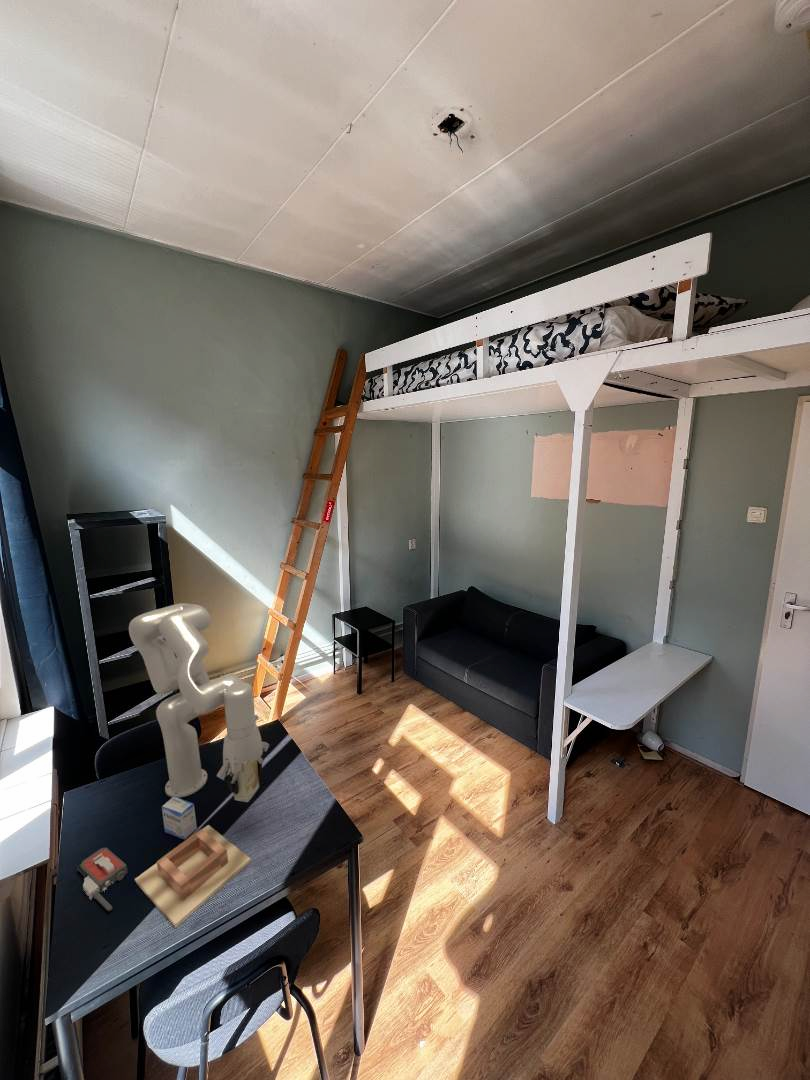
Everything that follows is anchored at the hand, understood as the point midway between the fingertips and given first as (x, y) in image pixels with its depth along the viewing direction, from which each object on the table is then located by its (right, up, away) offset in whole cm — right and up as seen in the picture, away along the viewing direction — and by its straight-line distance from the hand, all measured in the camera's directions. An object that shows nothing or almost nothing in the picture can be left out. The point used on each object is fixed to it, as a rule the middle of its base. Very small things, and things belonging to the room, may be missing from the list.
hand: (246, 783), depth 124 cm
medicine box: (-20, -15, +2) cm, 25 cm away
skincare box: (0, -4, +1) cm, 4 cm away
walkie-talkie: (-31, -19, -13) cm, 39 cm away
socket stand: (-10, -17, -11) cm, 22 cm away
